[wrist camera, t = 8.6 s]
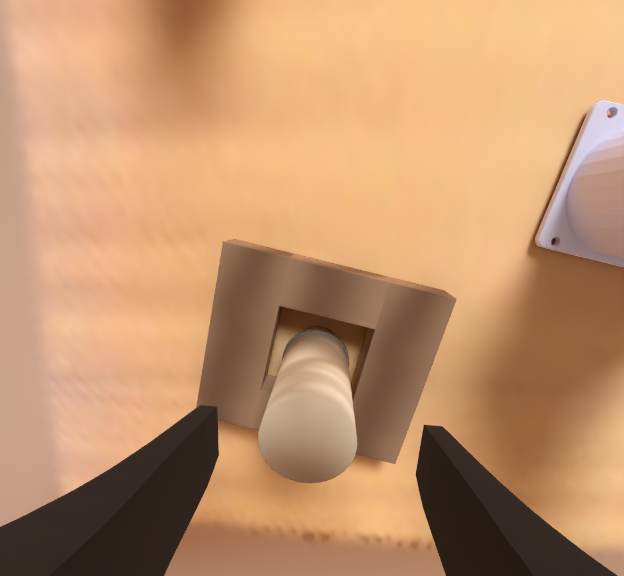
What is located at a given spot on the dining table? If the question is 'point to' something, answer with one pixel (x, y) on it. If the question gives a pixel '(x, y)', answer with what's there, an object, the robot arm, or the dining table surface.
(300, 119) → the dining table surface
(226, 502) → the dining table surface
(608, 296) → the dining table surface
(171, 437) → the robot arm
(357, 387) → the walnut board
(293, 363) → the ash peg
